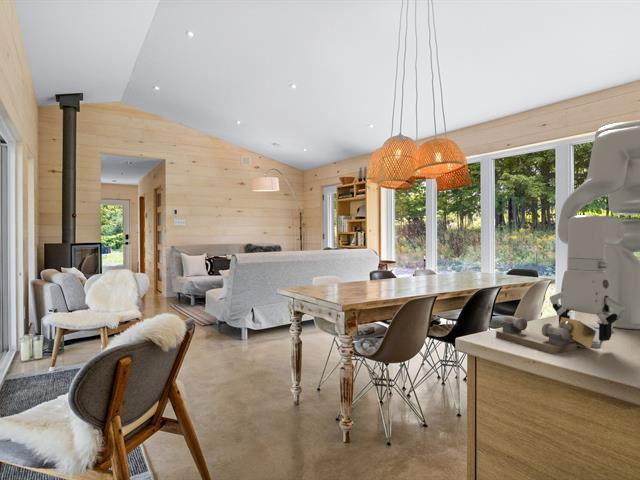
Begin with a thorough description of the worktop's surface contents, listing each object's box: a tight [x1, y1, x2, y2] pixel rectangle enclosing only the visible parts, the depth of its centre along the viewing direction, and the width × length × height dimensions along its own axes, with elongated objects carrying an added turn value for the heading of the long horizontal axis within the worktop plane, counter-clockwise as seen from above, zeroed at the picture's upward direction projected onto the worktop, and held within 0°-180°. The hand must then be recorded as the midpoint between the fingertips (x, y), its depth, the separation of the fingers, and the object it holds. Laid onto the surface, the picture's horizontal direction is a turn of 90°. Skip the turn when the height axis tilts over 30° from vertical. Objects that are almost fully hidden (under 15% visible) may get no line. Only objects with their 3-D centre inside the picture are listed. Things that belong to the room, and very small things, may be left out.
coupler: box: [557, 317, 596, 350], centre depth 97 cm, size 4×4×7 cm
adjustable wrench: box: [585, 323, 614, 349], centre depth 107 cm, size 25×6×2 cm, turn 137°
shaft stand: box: [495, 315, 577, 355], centre depth 100 cm, size 8×16×6 cm, turn 25°
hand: (583, 335), depth 99 cm, fingers open, 9 cm apart
